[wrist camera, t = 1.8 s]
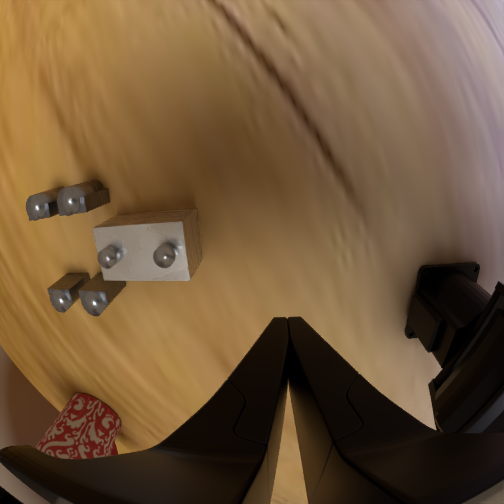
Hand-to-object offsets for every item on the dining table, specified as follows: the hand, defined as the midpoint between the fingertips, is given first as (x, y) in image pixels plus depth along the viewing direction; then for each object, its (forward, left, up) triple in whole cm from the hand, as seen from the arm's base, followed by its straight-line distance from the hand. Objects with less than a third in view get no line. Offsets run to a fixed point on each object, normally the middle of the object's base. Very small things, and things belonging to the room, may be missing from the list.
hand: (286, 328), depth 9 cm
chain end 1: (+16, 0, -10) cm, 19 cm away
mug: (+22, +24, -11) cm, 34 cm away
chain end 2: (+13, 0, -10) cm, 17 cm away
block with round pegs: (+8, 0, -11) cm, 13 cm away
